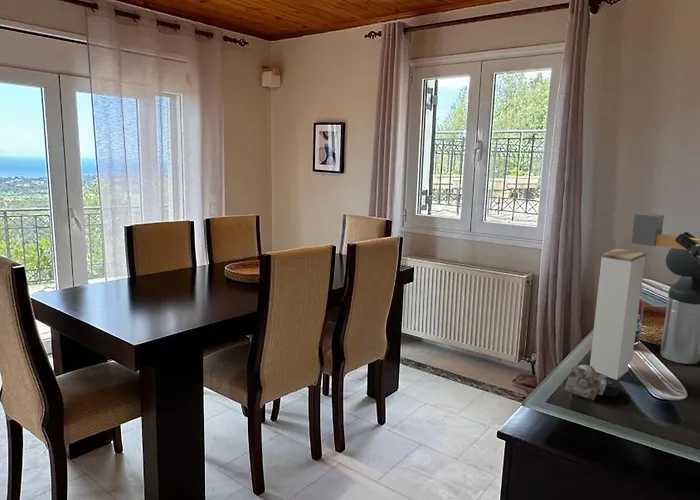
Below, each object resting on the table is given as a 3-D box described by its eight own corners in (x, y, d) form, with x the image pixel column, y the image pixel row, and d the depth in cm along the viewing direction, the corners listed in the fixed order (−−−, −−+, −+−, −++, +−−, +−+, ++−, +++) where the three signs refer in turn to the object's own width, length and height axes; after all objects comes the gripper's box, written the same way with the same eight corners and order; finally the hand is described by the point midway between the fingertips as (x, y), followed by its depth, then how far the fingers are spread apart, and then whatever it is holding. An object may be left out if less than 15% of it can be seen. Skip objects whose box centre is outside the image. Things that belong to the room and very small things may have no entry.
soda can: (612, 336, 156) (617, 290, 153) (640, 342, 152) (646, 295, 148) (606, 344, 150) (612, 296, 147) (635, 350, 146) (642, 301, 142)
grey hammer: (709, 250, 113) (714, 219, 111) (704, 252, 110) (709, 221, 109) (637, 240, 124) (641, 212, 122) (631, 243, 121) (634, 214, 120)
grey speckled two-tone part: (614, 397, 125) (614, 411, 116) (567, 378, 129) (564, 390, 121) (623, 373, 123) (624, 385, 115) (576, 355, 128) (573, 365, 119)
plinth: (630, 368, 135) (645, 252, 128) (616, 379, 128) (631, 258, 121) (603, 360, 140) (616, 248, 133) (589, 370, 133) (601, 254, 126)
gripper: (776, 266, 108) (700, 219, 118) (762, 278, 99) (681, 226, 109) (749, 291, 113) (678, 244, 122) (734, 305, 104) (658, 252, 113)
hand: (680, 236), depth 115 cm, fingers closed on grey hammer, 2 cm apart
